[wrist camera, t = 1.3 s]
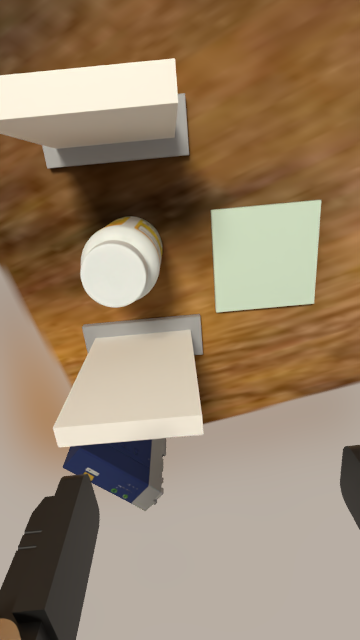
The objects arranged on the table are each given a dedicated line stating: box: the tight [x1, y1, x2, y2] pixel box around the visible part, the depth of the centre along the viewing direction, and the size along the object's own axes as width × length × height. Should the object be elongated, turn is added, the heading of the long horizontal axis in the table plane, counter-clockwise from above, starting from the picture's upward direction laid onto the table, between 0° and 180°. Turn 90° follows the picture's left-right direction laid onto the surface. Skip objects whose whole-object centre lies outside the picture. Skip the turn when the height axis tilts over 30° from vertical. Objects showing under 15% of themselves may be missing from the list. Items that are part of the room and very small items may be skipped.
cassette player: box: [63, 438, 166, 511], centre depth 29 cm, size 7×2×12 cm, turn 51°
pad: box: [211, 200, 321, 312], centre depth 29 cm, size 9×9×1 cm
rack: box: [0, 59, 203, 447], centre depth 23 cm, size 22×11×13 cm, turn 5°
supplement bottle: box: [81, 216, 162, 307], centre depth 25 cm, size 5×5×10 cm
